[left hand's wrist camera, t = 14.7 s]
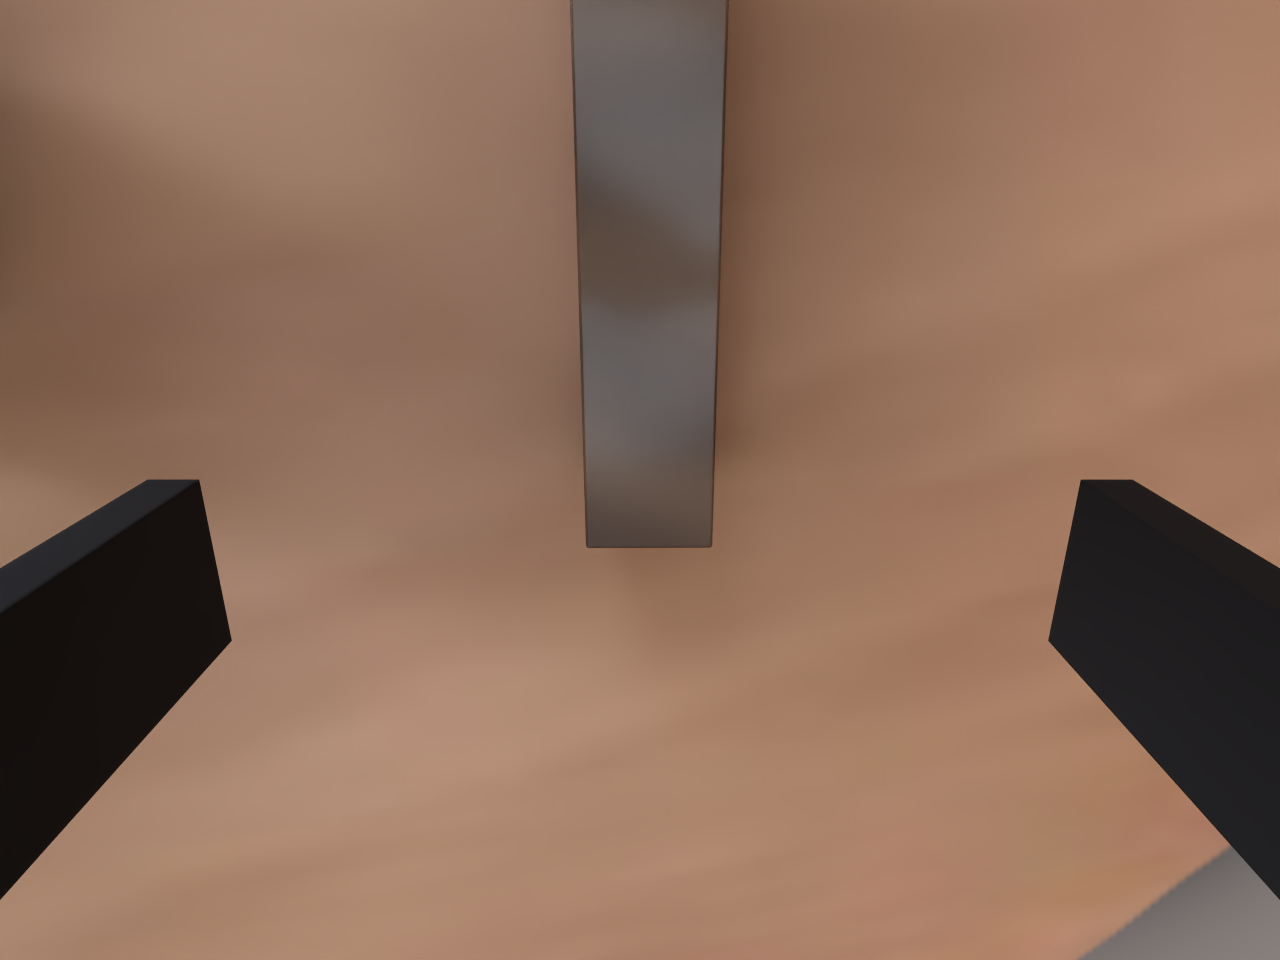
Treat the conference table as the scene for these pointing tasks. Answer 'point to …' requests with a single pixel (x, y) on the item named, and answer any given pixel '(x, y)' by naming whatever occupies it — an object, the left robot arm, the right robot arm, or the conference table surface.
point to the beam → (649, 263)
